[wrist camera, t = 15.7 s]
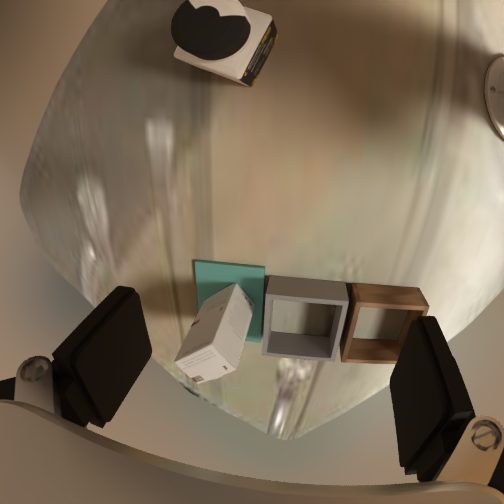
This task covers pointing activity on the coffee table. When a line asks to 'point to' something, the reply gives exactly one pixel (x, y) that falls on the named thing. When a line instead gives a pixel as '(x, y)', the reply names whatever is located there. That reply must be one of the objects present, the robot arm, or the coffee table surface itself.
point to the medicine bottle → (223, 38)
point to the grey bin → (311, 293)
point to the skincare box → (216, 335)
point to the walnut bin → (378, 298)
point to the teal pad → (225, 274)
